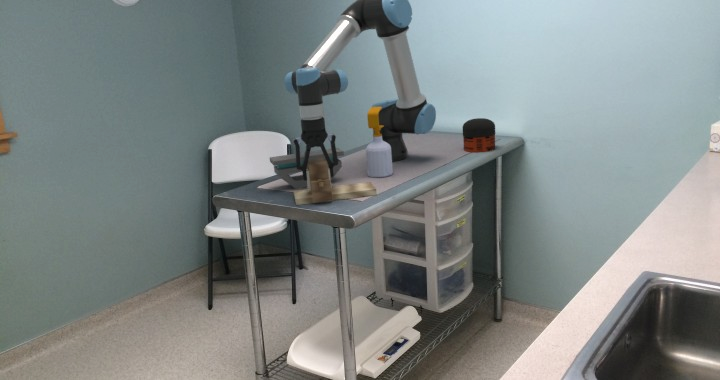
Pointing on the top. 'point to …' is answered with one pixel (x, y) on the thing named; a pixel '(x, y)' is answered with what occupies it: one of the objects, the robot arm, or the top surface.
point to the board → (338, 192)
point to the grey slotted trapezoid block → (288, 165)
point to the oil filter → (479, 135)
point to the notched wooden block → (319, 180)
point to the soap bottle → (378, 148)
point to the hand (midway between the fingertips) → (319, 188)
